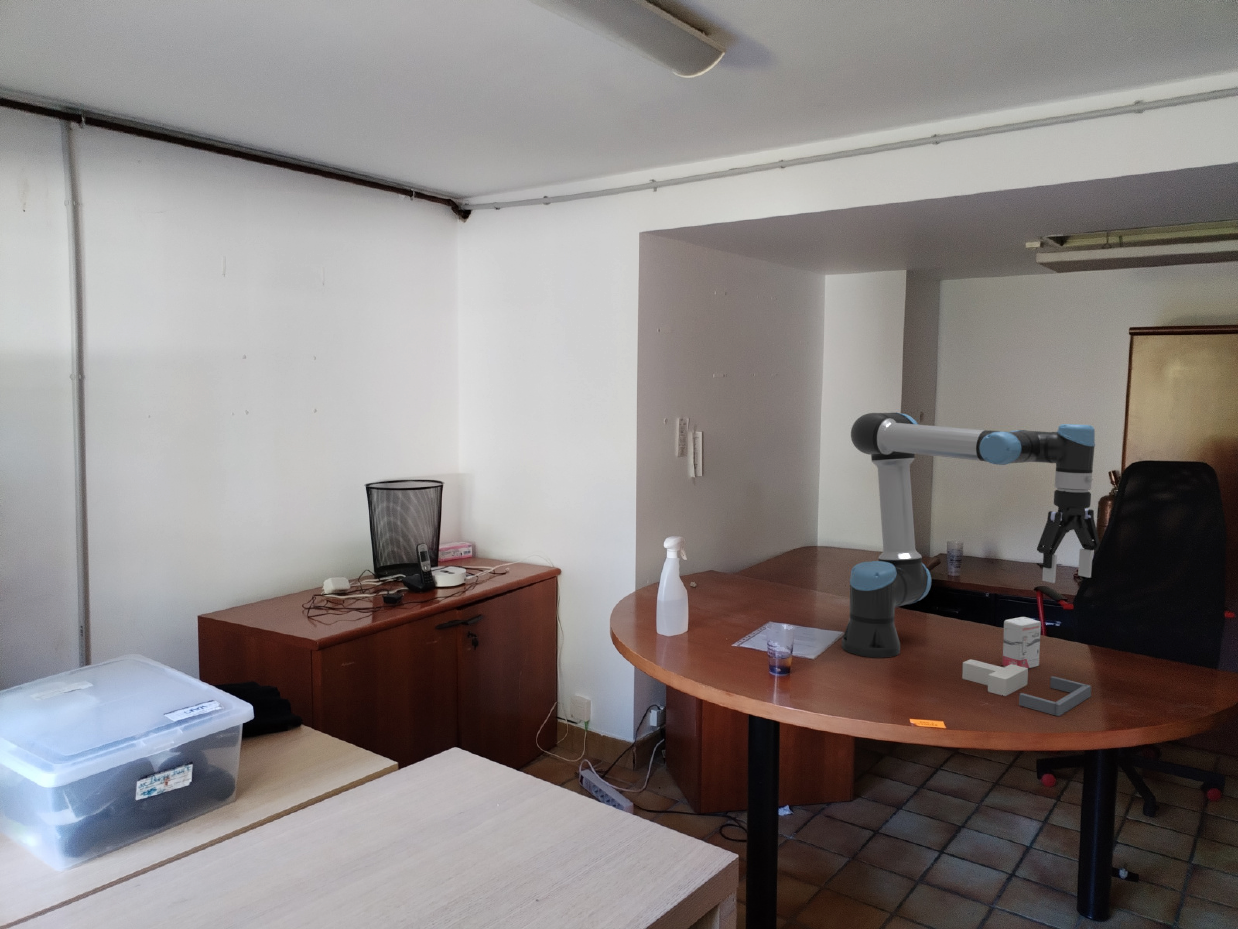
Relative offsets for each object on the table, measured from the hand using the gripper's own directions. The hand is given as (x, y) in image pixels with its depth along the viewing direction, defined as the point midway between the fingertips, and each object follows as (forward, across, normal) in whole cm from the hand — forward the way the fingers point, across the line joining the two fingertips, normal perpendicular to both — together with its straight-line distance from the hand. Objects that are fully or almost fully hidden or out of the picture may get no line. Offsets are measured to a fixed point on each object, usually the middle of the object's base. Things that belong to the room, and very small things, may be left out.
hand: (1066, 579), depth 186 cm
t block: (+26, -14, +8) cm, 31 cm away
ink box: (+26, +4, +13) cm, 30 cm away
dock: (+26, -11, -7) cm, 29 cm away
